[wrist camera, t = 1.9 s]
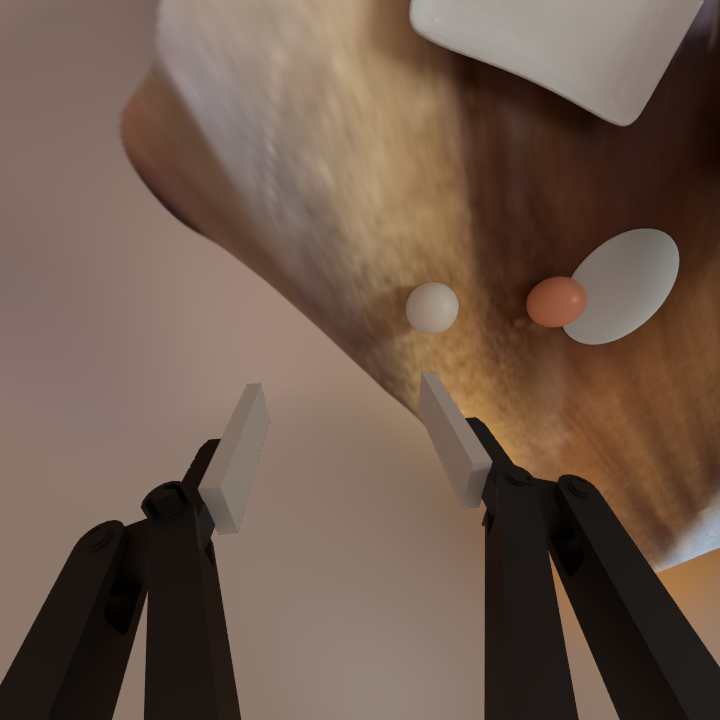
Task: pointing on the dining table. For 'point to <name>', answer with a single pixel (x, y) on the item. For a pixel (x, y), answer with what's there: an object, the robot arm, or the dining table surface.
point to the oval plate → (624, 284)
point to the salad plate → (567, 44)
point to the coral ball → (556, 301)
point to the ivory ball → (432, 308)
